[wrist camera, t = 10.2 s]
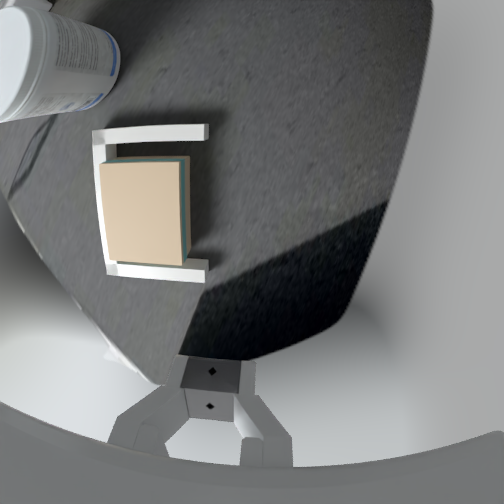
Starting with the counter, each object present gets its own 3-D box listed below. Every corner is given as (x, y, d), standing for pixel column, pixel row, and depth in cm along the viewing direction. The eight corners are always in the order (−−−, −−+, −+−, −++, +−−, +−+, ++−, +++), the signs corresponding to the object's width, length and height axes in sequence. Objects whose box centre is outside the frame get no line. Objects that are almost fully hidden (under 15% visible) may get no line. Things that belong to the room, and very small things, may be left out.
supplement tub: (75, 23, 23) (-14, -2, 9) (139, 42, 24) (56, 5, 11) (42, 98, 26) (-52, 109, 13) (100, 124, 28) (4, 142, 15)
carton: (118, 156, 30) (98, 163, 26) (191, 154, 30) (179, 161, 26) (125, 243, 34) (109, 260, 30) (192, 247, 34) (182, 266, 30)
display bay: (103, 128, 28) (92, 130, 26) (208, 123, 28) (204, 124, 26) (116, 264, 35) (107, 274, 33) (208, 271, 35) (204, 282, 32)
